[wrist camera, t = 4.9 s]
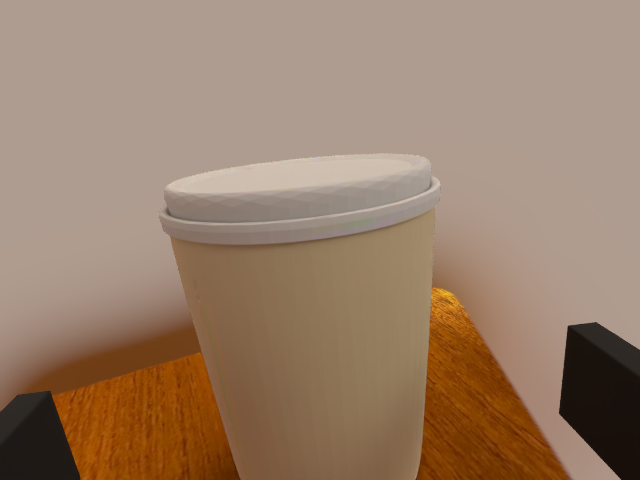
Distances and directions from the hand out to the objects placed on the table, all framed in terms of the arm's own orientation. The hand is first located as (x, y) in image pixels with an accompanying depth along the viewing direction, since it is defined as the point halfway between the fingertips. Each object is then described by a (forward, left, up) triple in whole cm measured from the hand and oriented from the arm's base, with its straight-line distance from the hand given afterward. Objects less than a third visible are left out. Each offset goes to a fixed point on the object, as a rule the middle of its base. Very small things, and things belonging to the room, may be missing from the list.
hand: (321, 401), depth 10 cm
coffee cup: (+4, -3, -7) cm, 9 cm away
